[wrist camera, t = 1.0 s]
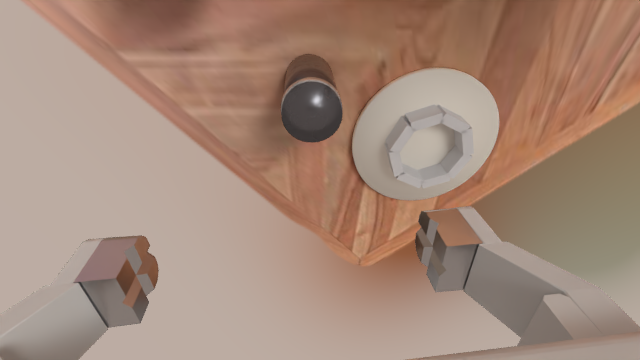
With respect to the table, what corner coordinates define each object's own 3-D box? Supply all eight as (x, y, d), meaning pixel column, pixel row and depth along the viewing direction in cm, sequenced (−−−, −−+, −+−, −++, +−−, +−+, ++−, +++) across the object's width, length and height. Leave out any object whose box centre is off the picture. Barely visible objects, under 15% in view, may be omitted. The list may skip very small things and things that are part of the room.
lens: (324, 45, 34) (333, 74, 26) (339, 93, 37) (350, 132, 29) (277, 63, 35) (270, 96, 26) (294, 108, 38) (293, 150, 29)
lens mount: (494, 43, 35) (511, 51, 32) (495, 174, 45) (509, 189, 42) (334, 97, 37) (337, 109, 34) (369, 210, 47) (374, 226, 44)
